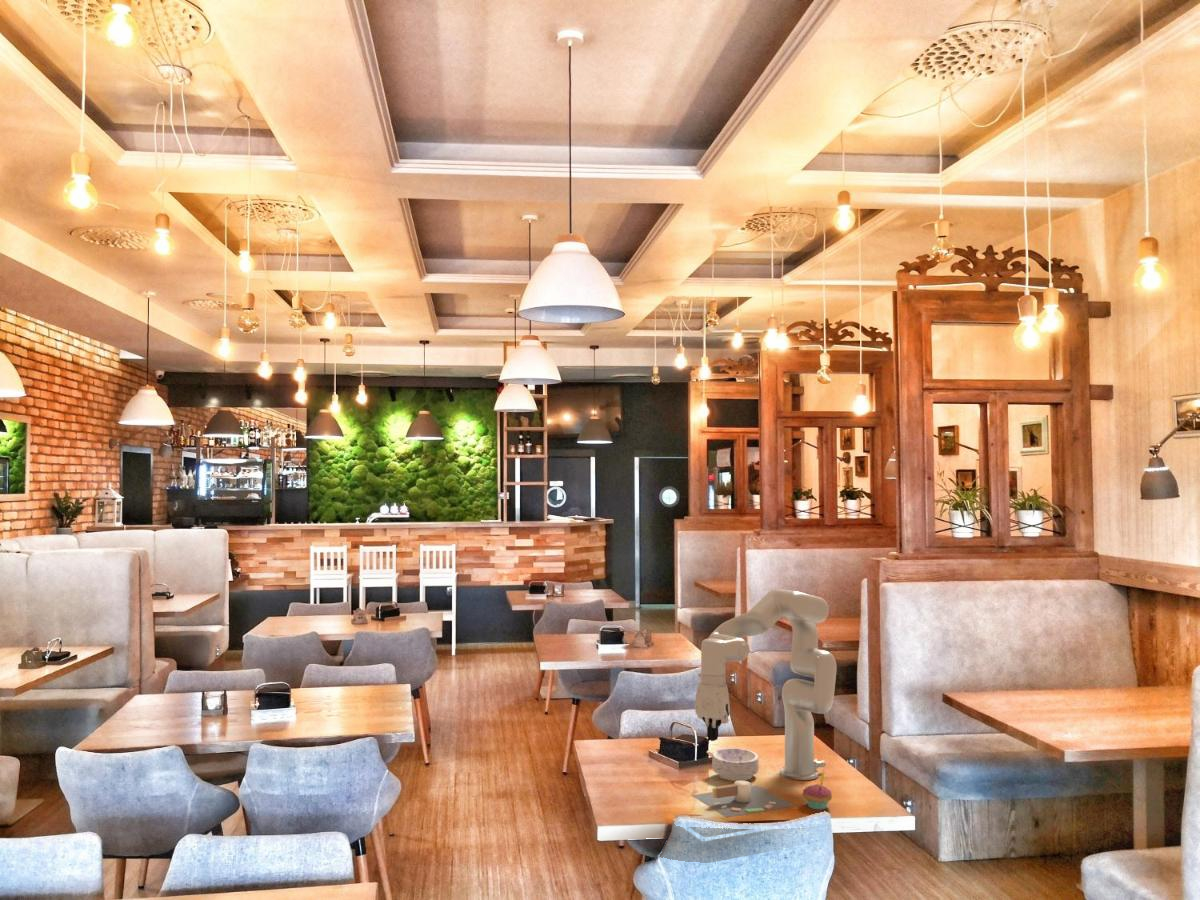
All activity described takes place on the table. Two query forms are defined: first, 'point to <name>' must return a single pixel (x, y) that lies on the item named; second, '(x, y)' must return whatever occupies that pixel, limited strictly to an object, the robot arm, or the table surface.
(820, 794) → the cupcake
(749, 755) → the light grey bowl
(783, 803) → the board
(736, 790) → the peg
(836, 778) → the table surface
